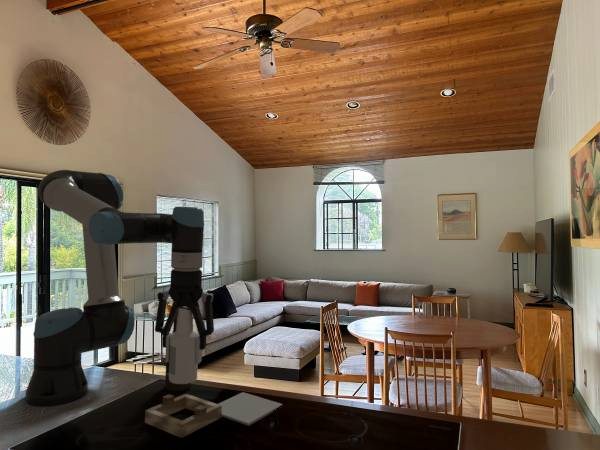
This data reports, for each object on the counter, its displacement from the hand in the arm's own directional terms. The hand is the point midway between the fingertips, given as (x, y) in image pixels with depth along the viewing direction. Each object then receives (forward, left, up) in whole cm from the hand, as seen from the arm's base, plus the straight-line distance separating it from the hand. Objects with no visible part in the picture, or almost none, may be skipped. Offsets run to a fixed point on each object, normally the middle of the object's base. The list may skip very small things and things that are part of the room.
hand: (183, 361), depth 109 cm
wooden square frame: (+1, 0, -15) cm, 15 cm away
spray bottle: (0, 0, -5) cm, 5 cm away
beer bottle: (-17, +14, -15) cm, 27 cm away
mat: (+9, +14, -15) cm, 22 cm away
